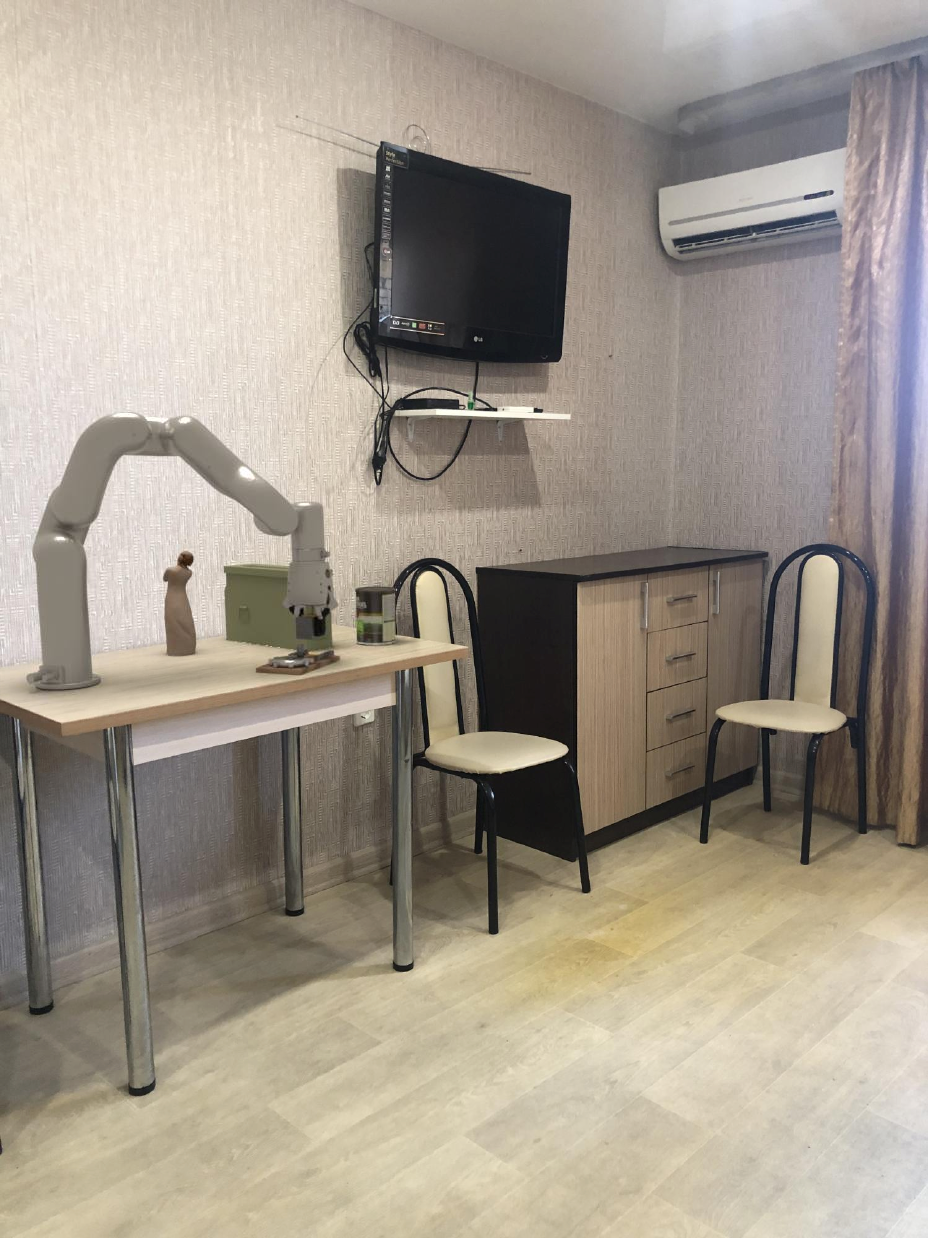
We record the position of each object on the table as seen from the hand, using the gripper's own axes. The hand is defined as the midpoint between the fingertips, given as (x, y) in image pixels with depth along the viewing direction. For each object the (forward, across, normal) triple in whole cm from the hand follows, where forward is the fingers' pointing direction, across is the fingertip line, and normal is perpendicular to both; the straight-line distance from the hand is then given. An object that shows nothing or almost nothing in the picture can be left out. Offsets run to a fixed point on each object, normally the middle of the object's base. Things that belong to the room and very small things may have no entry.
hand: (311, 634), depth 229 cm
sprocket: (+5, 0, +10) cm, 11 cm away
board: (+6, 0, +6) cm, 9 cm away
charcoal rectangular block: (+1, 0, 0) cm, 1 cm away
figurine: (+6, +37, -1) cm, 37 cm away
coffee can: (+7, -3, -29) cm, 30 cm away
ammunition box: (+7, +20, -21) cm, 30 cm away
